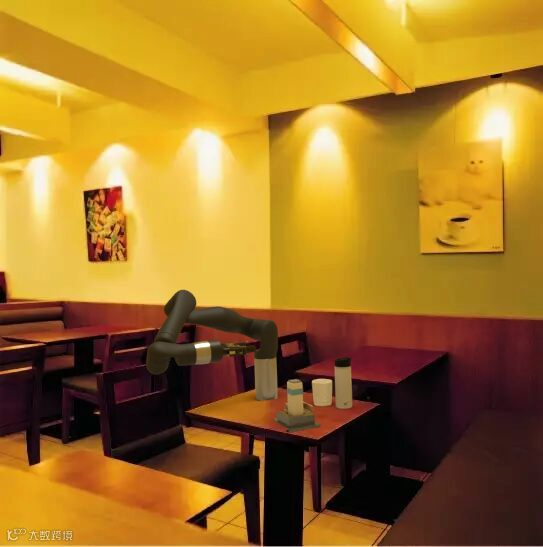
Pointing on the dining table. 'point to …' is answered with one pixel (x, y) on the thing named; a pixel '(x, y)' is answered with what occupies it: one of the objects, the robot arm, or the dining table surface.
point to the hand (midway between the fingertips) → (250, 346)
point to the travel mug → (343, 383)
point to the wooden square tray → (305, 407)
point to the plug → (295, 397)
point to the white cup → (322, 392)
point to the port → (296, 421)
